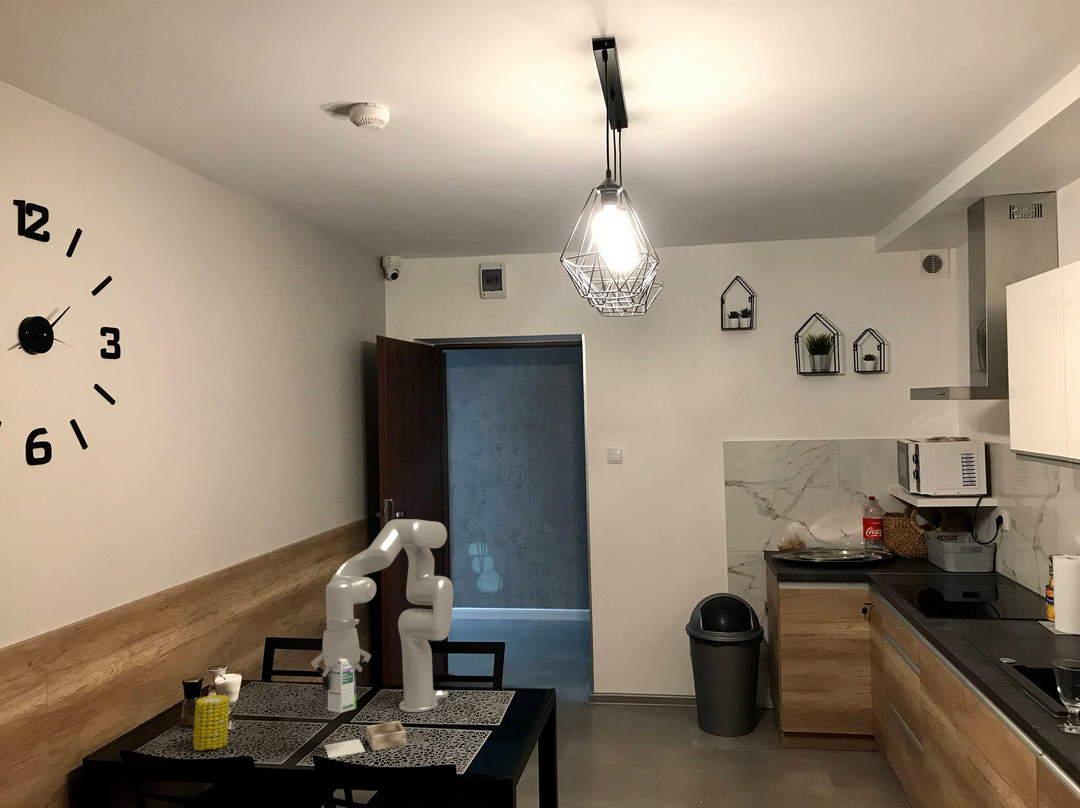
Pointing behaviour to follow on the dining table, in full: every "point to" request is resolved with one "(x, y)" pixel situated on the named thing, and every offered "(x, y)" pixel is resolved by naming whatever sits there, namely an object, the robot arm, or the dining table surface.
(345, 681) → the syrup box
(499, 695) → the dining table surface
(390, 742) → the wooden tray
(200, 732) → the food
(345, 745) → the plate
